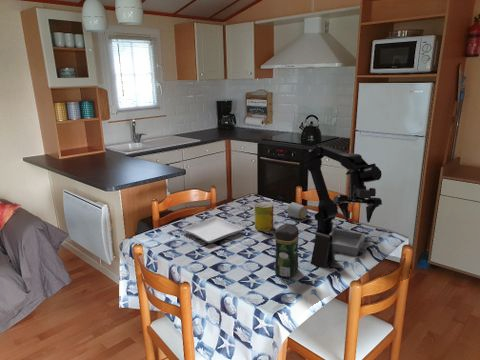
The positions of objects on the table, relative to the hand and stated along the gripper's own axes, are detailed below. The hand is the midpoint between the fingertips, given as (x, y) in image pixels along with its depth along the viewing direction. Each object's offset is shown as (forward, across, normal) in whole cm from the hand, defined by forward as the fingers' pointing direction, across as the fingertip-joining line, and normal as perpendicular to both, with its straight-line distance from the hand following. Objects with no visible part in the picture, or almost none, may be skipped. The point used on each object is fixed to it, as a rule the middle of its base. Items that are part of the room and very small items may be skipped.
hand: (357, 221), depth 152 cm
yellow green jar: (+2, -31, +38) cm, 49 cm away
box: (+9, 0, +14) cm, 16 cm away
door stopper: (+17, -14, +3) cm, 22 cm away
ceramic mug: (-6, -11, +48) cm, 49 cm away
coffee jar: (+22, -30, -2) cm, 37 cm away
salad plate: (+6, -56, +37) cm, 67 cm away
